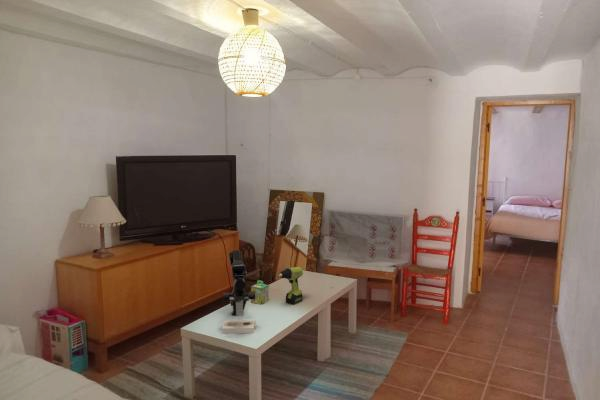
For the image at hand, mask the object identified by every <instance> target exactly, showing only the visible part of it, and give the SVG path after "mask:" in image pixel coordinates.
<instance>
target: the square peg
mask: <svg viewBox="0 0 600 400" xmlns="http://www.w3.org/2000/svg"><path fill="white" fill-rule="evenodd" d="M244 310H245V309H244ZM244 310H243V300H242V301H236V315H235V316H239V317H240V316H244V313H245V311H244Z"/></svg>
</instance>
